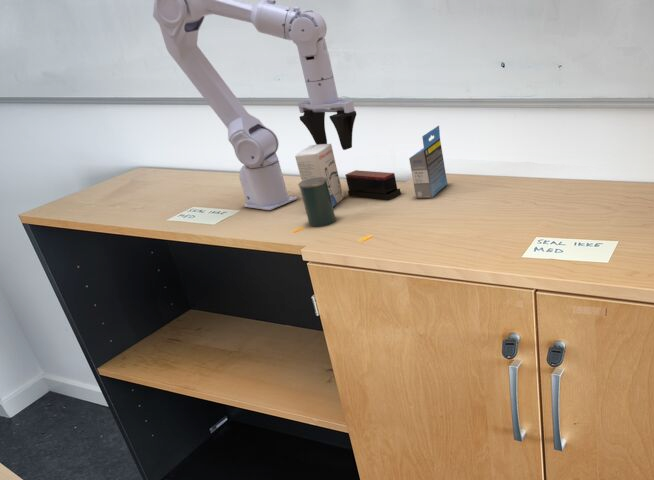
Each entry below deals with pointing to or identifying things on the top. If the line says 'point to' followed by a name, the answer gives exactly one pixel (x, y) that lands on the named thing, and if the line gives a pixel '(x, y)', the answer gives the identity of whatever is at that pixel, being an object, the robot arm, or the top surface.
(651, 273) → the top surface
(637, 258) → the top surface
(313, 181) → the pen tin
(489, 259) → the top surface
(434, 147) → the blue grey hanging carton
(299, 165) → the ink box
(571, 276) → the top surface
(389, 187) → the black and red block
